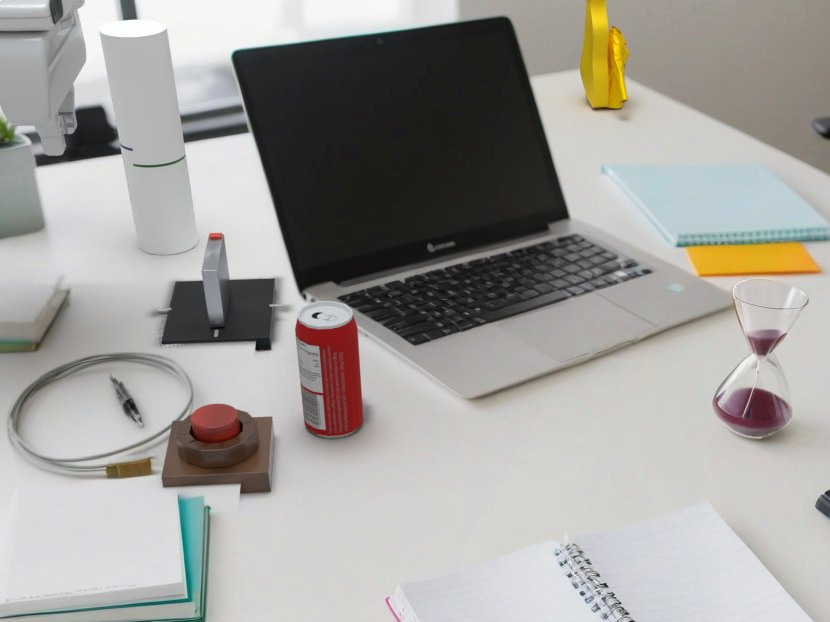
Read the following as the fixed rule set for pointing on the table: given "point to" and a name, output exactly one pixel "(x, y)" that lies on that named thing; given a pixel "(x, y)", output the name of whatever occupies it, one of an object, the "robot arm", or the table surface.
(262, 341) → the panel
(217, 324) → the grey upright flat block
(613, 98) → the figure statuette
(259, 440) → the button block
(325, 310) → the soda can
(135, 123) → the cylindrical container
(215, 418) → the button
